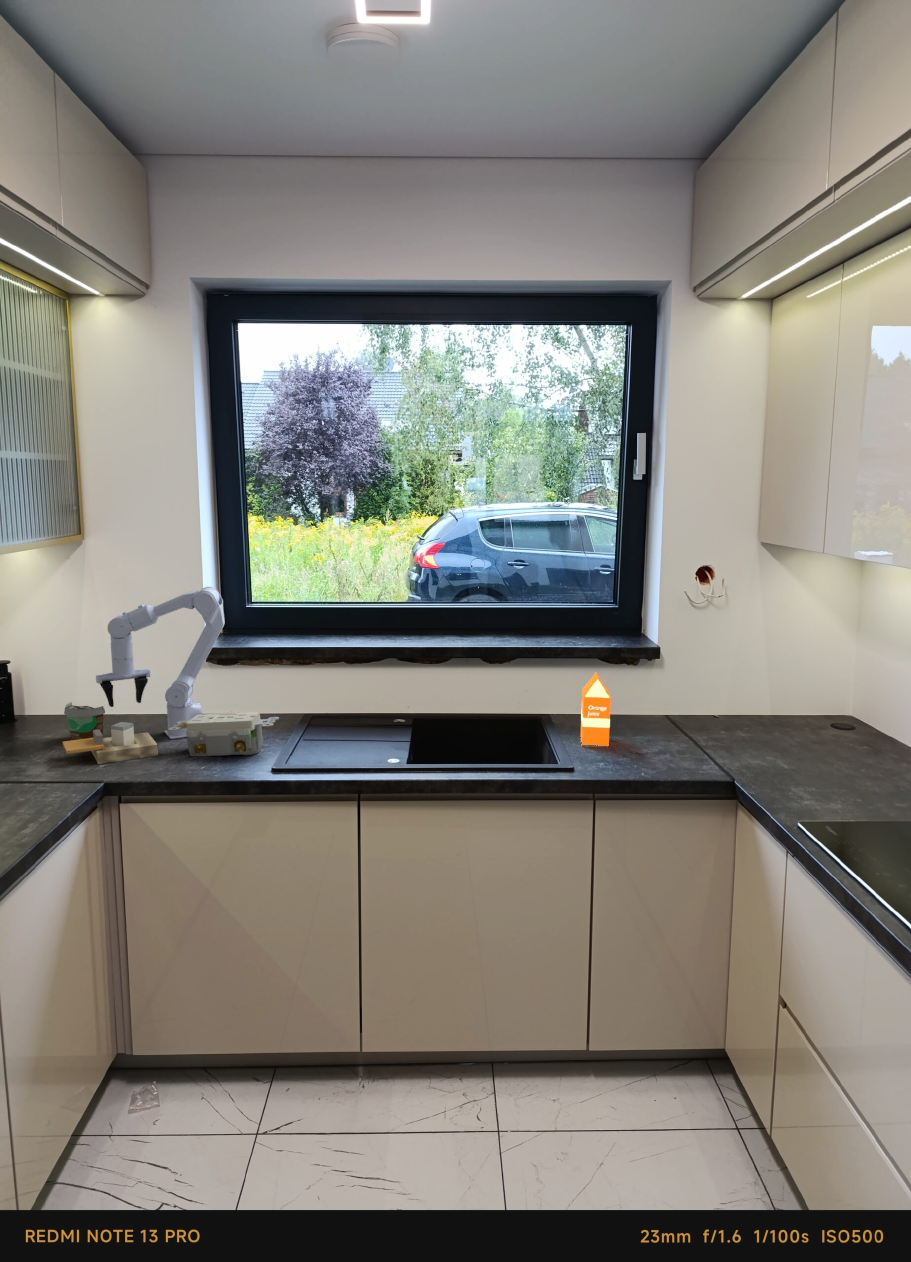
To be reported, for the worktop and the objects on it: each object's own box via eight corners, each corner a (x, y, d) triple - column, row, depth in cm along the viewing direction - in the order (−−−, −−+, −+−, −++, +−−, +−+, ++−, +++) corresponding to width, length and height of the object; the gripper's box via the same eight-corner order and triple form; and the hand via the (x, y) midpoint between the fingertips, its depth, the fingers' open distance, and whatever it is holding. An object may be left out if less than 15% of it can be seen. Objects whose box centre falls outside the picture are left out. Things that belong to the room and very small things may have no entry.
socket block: (148, 742, 237) (147, 732, 237) (157, 755, 226) (157, 744, 226) (90, 750, 230) (90, 739, 229) (98, 764, 219) (97, 753, 218)
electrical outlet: (273, 757, 224) (269, 721, 222) (168, 761, 225) (163, 726, 224) (283, 744, 235) (280, 709, 234) (184, 748, 237) (180, 713, 235)
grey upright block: (123, 749, 231) (121, 721, 229) (134, 751, 229) (133, 723, 228) (112, 754, 227) (110, 725, 225) (124, 756, 226) (123, 727, 224)
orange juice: (606, 738, 246) (609, 672, 242) (609, 748, 237) (612, 679, 234) (579, 737, 246) (582, 671, 243) (581, 747, 238) (583, 678, 234)
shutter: (99, 739, 228) (98, 728, 228) (104, 748, 221) (103, 736, 220) (62, 744, 224) (62, 732, 223) (67, 753, 216) (66, 741, 216)
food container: (55, 741, 237) (53, 707, 235) (72, 735, 243) (69, 702, 241) (91, 746, 233) (89, 711, 232) (107, 740, 239) (104, 706, 237)
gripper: (99, 663, 232) (102, 711, 234) (152, 657, 241) (155, 703, 243) (92, 659, 237) (95, 705, 240) (144, 653, 246) (147, 698, 248)
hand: (125, 704), depth 242 cm, fingers open, 7 cm apart
